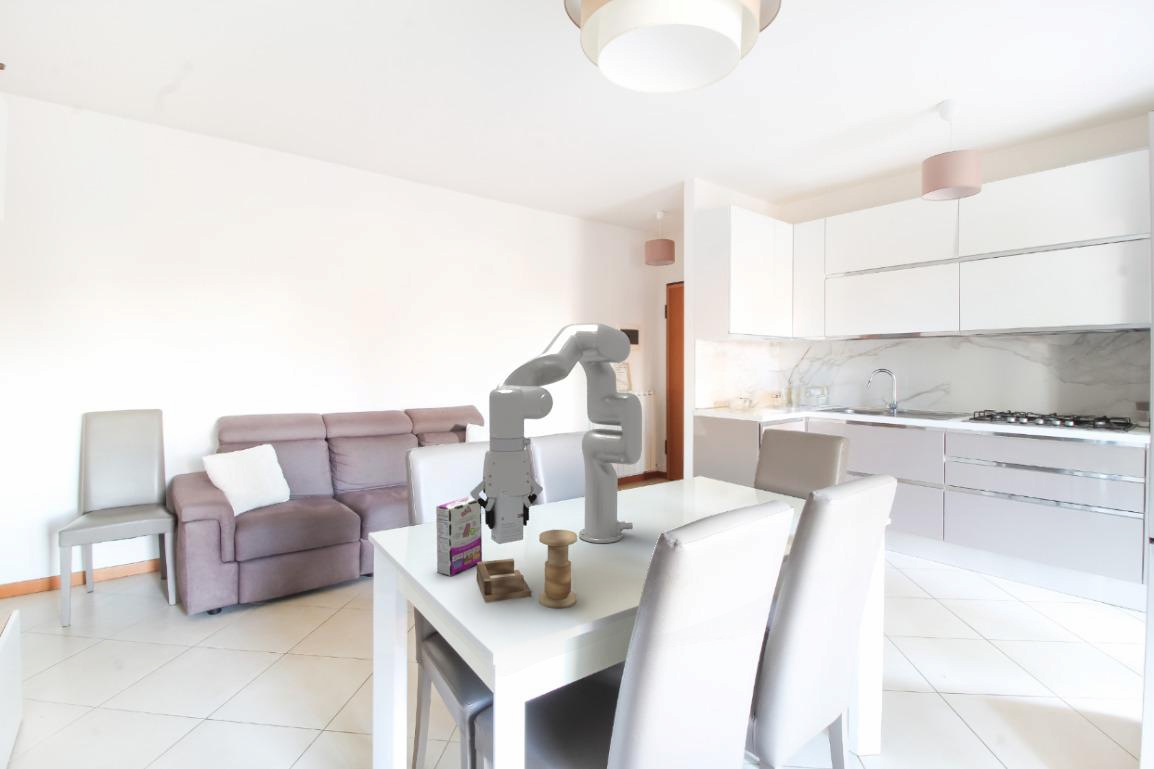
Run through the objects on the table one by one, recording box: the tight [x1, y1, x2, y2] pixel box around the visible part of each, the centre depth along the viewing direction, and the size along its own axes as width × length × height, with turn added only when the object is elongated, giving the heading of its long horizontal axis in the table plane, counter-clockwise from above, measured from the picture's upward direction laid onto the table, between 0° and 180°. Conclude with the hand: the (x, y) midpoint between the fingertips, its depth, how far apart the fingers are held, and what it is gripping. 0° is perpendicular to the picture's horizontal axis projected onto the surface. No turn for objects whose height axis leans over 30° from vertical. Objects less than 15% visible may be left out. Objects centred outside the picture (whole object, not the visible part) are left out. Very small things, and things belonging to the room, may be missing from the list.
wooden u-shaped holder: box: [476, 558, 532, 603], centre depth 124 cm, size 10×13×4 cm
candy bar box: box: [435, 496, 483, 577], centre depth 136 cm, size 11×5×16 cm, turn 148°
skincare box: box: [490, 488, 524, 545], centre depth 121 cm, size 6×4×12 cm
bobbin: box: [538, 529, 578, 609], centre depth 118 cm, size 8×8×14 cm
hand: (507, 525), depth 121 cm, fingers closed on skincare box, 6 cm apart
